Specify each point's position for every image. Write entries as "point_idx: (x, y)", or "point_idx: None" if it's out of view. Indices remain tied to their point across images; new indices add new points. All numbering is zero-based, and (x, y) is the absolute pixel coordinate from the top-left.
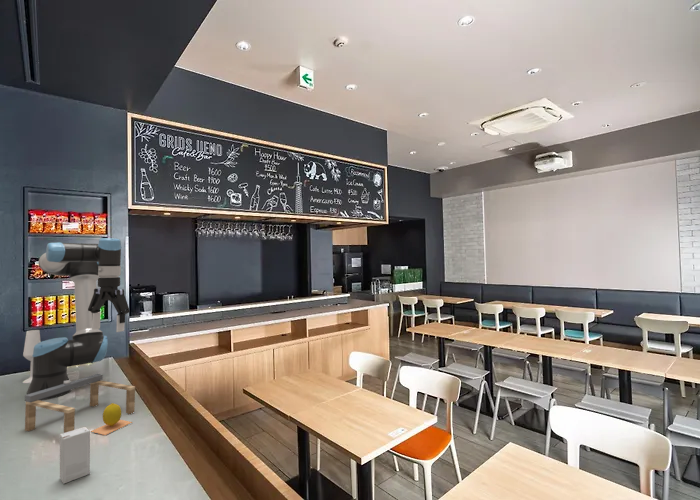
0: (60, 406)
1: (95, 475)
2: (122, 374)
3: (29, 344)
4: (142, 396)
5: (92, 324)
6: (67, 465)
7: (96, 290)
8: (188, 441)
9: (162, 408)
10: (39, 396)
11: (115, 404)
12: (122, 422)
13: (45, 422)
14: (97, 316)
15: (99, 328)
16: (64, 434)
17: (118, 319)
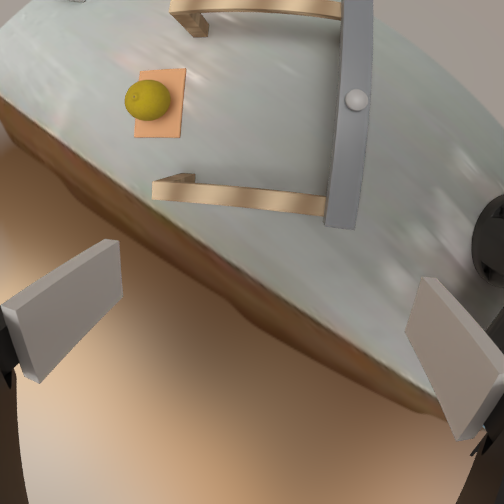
0: (220, 2)
1: (62, 5)
2: (429, 387)
3: None
4: (255, 284)
5: (454, 299)
6: None
7: None
8: (11, 130)
9: (138, 229)
10: (342, 14)
11: (130, 102)
12: (153, 127)
13: None
14: (458, 383)
15: (406, 326)
16: None
17: (33, 287)
